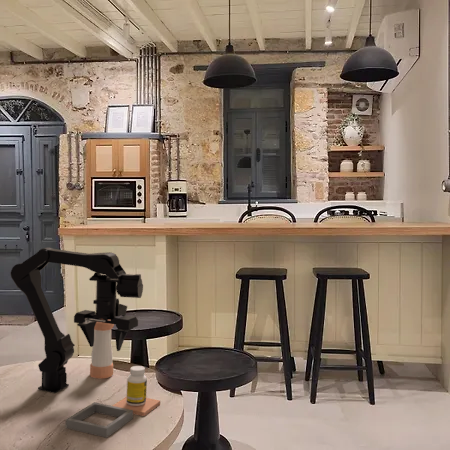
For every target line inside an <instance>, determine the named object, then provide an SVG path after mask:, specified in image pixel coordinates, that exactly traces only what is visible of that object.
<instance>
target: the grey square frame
mask: <svg viewBox="0 0 450 450" xmlns="http://www.w3.org/2000/svg"><path fill="white" fill-rule="evenodd" d="M95 413H97V414H101V415H106V416H111V417H116V419H114V420H113V421H111V422H110V423H108V424H106V426H105V425H101V424H99V423H98V424H97V423H93V422H88V421H84V420H85V419H87V418H89V417H90V416H91V415H93V414H95ZM133 416H134V414H133V410H129V409H125V408H120V407H115V406H113V405H110V404H104V403H101V402H97V401H96V402H92V403H90V404H89V405H87V406H86V407H84V408H82V409H80V410H79V411H77V412H76V413H74V414H73V415H71V416H69V417H67V418H66V419H65V428H66V429H69V430H73V431H76V432H81V433H85V434H90V435H93V436H97V437H102V438H108V437H110V436H112V434H114V433H116V432H117V431H118V430H119V429H121V428H122V427H123V426H125V425H126V424H127V423H129V422H130V421H132V420H133V418H134V417H133Z"/></svg>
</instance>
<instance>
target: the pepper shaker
mask: <svg viewBox="0 0 450 450" xmlns="http://www.w3.org/2000/svg"><path fill="white" fill-rule="evenodd" d="M103 320H104V319H103ZM110 321H111V320H110ZM114 326H115V324H110V323H103V322H96V325H95V327H94V345H93V347H91V348H92V349H91V363H90V365H89V376H90V377H91V378H92V379H98V380H99V379H100V380H101V379H107V378H111V377H112V375H114V363H113V354H114V353H113V346H112V329H113V328H114Z"/></svg>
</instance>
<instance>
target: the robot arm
mask: <svg viewBox="0 0 450 450" xmlns="http://www.w3.org/2000/svg"><path fill="white" fill-rule="evenodd" d="M49 263H53V264H61V265H67V266H72V267H73V266H75V267H81V268H85V269H87V270H90V271H91V272H94V274H93V275H92V276H91V277H89V278H88V280H89V281H91V282H92V281H93V282H96V286H95V287H96V290H95V291H96V292H95V296H96V297H95V298H96V299H94V300H92V301H93V304H94V305H95V310H90V309H89V310H87V309H84V310H80V311H78V312H75V314H74V316H73V323H75V324H76V325H77V327H79V328H80V329H81V331H82V333H83V334H84V336H85V338H86V341H87V342H88V345H89V346H90V348H93V345H94V327H95V325H96V322H103V323H110V324H114V325H115V327H116V329H114V334H115V337H114V338H115V347H116V351H117V352H120V351H121V349H122V346H123V344H124V341H125V338H126V336H127V334H128V333H129V331H132V330H133V329H134V328H137V327H138V326H139V320H138V318H137V317H136V316H131V315H126V314H127V310H128V305H126V304H121V303H120V299H119V298H117V295H118V296H120V298H131V299H132V298H134V299H141V298H142V296H143V291H144V284H143V279H142V274H140V273H135V274H130V273H129V274H127V273H126V271H125V269H124V268H123V267H122V265H121V263H120V260H119V256H117V254H116V253H115V252H112V251H111V252H93V253H88V252H87V253H86V252H79V251H72V250H63V249H57V248H53V247H45V248H40V249H39V250H38V251H37V252H36V253H34V254H33V255H32V256H30V257H28V258H27V259H25V260H24V261H23V262H21V263H16V264H15V265H13V266H12V268H11V271H10V272H9V274H10V278H11V279H12V282H14V284H15V286H16V287H17V288H18V289H19V290H20V291H21V292H23V294H24V295H25V296H26V300H27V301H28V303H29V307H30V308H31V310H32V312H33V313H32V314H33V315H34V317H35V320H36V322H37V324H38V327H39V329H40V331H41V333H42V335H43V338H44V353H45V358H44V359H43V360H42V361H40V363H38V369H39V372H41V386H39V387H37V390H38V391H39V390H40V391H45V392H49V393H57V392H60V391H62V390H64V389H65V388H67V387H69V385H70V384H69V383H67V379H68V378H67V377H68V373H67V372H66V370H67V369H66V367H65V365H67V364H68V362H69V360H70V359H72V357H73V356H74V353H75V348H74V347H75V344H74V343H73V341H72V337H71V334H70V333H67V334H66V335H65V334H64V333H62V331H61V330H60V328H59V325H58V323H57V320H56V318H55V316H54V313H53V312H52V309H51V307H50V304H49V302H48V300H47V298H46V295H45V292H43V288H42V275H41V271H42V270H43V269H44V268H45V267H46V266H48V264H49ZM120 316H121V317H120ZM103 319H104V320H103ZM110 320H111V321H110Z"/></svg>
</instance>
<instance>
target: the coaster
mask: <svg viewBox="0 0 450 450" xmlns="http://www.w3.org/2000/svg"><path fill="white" fill-rule="evenodd" d="M126 397H127V396H125V397H123V398H122V399H121V400H119V401H117V402H116V403H114V404H113V405H112V406H115V407H120V408H125V409H129V410H133V415H135V416H136V415H137V416H140V417H141V416H142V417H145V416H147V415H148V414H149V413H151V412H152V411H153V410H154V409H156V408H157V407H158V406H160V405H161V400H159V399H154V398H149V397H146V403H145V404H144V405H141V406H130V405H128V404H127V403H126Z"/></svg>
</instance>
